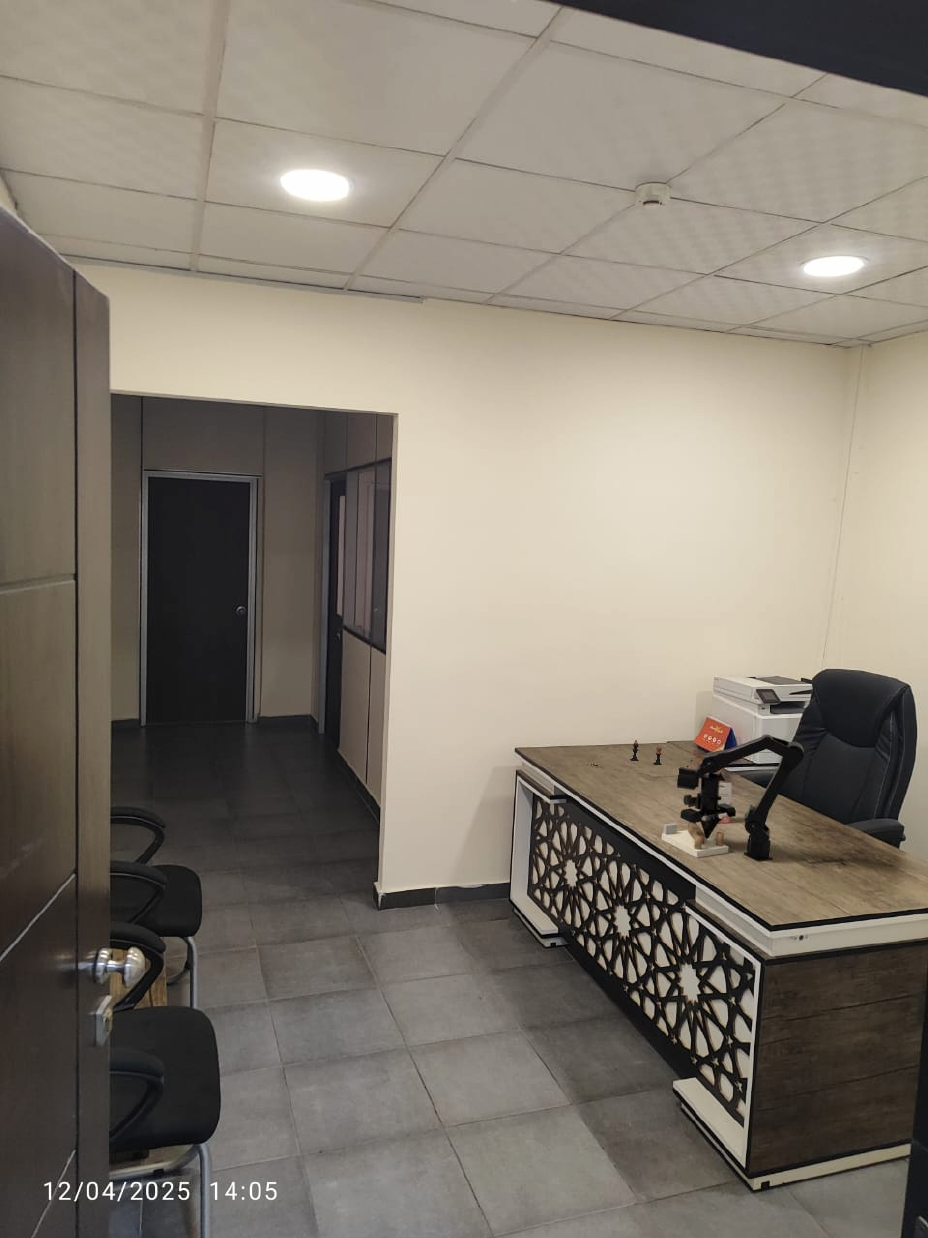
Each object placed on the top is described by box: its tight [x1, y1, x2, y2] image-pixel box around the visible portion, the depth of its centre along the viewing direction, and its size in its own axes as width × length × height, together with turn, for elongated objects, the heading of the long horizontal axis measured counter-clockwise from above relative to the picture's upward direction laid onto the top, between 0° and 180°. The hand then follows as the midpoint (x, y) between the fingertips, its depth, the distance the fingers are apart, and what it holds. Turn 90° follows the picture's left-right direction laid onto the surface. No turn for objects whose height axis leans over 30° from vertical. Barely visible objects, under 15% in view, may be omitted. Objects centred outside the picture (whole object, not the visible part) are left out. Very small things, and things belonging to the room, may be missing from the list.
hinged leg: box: [687, 821, 705, 844], centre depth 282 cm, size 12×2×4 cm, turn 0°
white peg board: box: [661, 822, 729, 858], centre depth 280 cm, size 17×13×6 cm
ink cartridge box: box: [718, 782, 733, 824], centre depth 306 cm, size 9×5×15 cm, turn 101°
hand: (706, 838), depth 279 cm, fingers closed
